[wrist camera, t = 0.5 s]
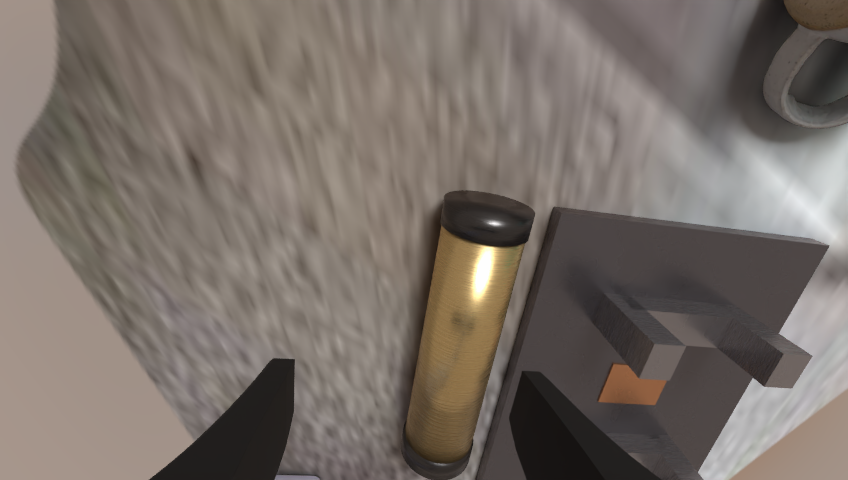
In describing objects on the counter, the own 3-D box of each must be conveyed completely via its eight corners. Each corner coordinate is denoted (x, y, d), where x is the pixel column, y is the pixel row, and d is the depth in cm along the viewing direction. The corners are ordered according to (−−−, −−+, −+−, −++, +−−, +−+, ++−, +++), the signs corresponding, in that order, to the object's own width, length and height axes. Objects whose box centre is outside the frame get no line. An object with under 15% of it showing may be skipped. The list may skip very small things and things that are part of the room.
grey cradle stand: (673, 485, 31) (730, 566, 26) (475, 481, 28) (494, 568, 23) (812, 238, 23) (932, 285, 18) (553, 206, 21) (607, 248, 16)
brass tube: (464, 423, 26) (474, 483, 22) (401, 417, 26) (399, 477, 22) (521, 197, 20) (547, 225, 16) (441, 186, 20) (448, 212, 16)
